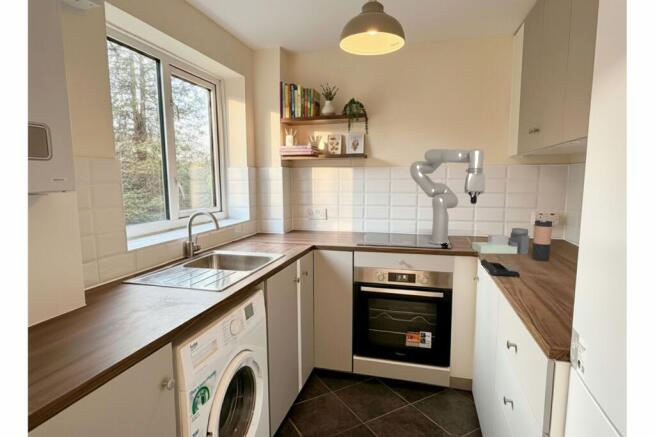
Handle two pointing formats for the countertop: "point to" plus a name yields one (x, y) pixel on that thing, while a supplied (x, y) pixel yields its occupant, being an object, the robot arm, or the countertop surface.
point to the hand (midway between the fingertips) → (473, 203)
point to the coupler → (515, 244)
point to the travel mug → (542, 240)
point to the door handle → (499, 269)
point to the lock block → (498, 240)
